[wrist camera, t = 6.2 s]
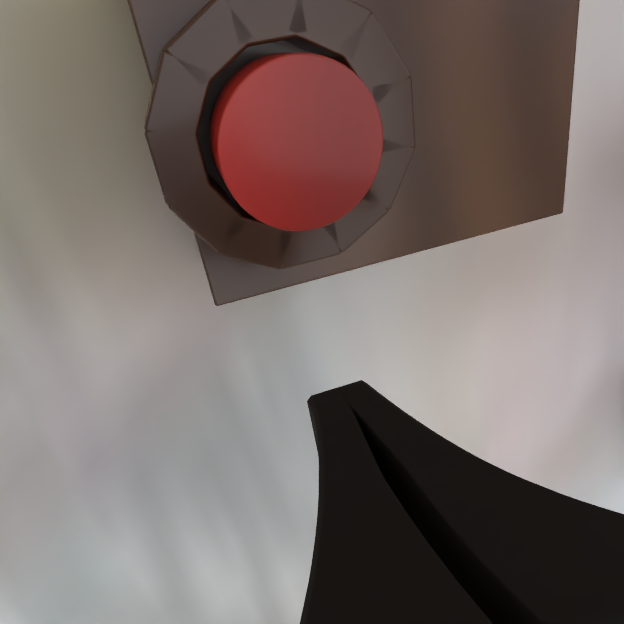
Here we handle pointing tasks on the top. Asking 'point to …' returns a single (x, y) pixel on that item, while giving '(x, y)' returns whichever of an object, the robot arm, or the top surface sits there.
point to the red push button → (296, 139)
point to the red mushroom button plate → (394, 115)
